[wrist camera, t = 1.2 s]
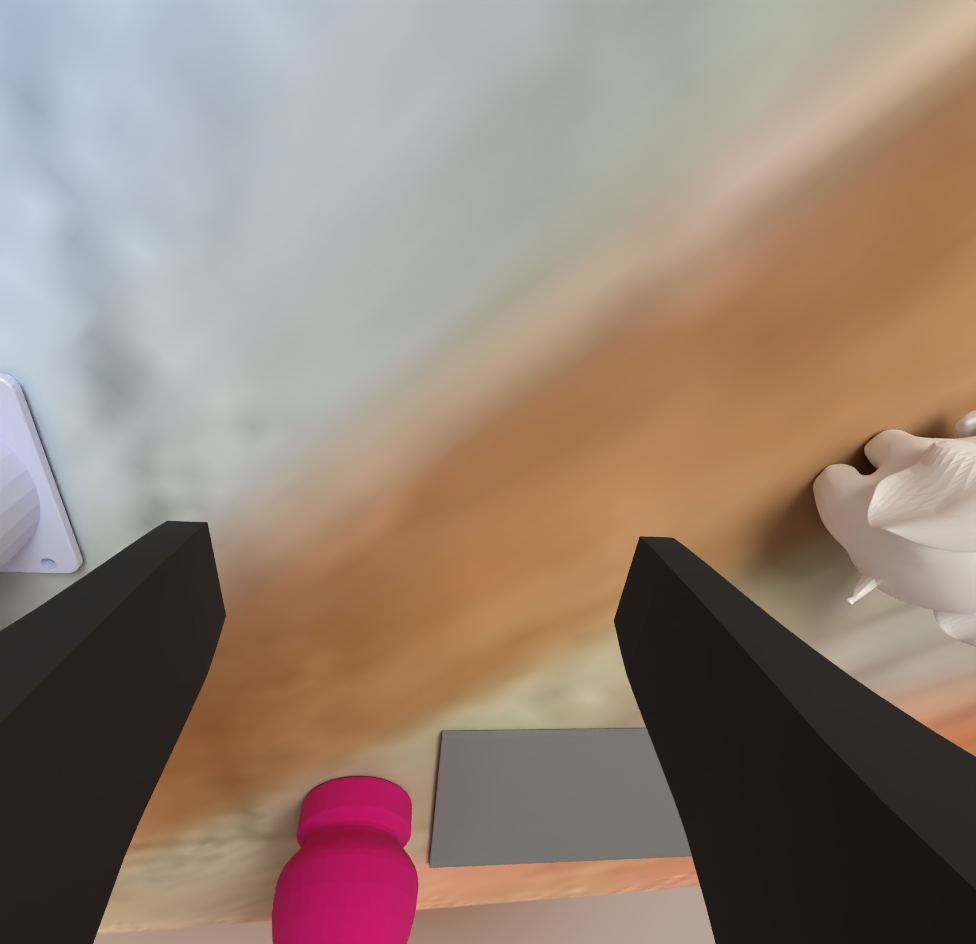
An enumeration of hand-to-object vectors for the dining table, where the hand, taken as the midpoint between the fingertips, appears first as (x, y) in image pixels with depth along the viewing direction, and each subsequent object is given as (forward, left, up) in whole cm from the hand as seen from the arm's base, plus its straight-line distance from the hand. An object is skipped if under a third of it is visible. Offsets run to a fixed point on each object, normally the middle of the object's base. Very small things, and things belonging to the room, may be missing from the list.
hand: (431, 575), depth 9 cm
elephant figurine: (+19, -3, -11) cm, 22 cm away
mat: (+12, -27, -10) cm, 31 cm away
